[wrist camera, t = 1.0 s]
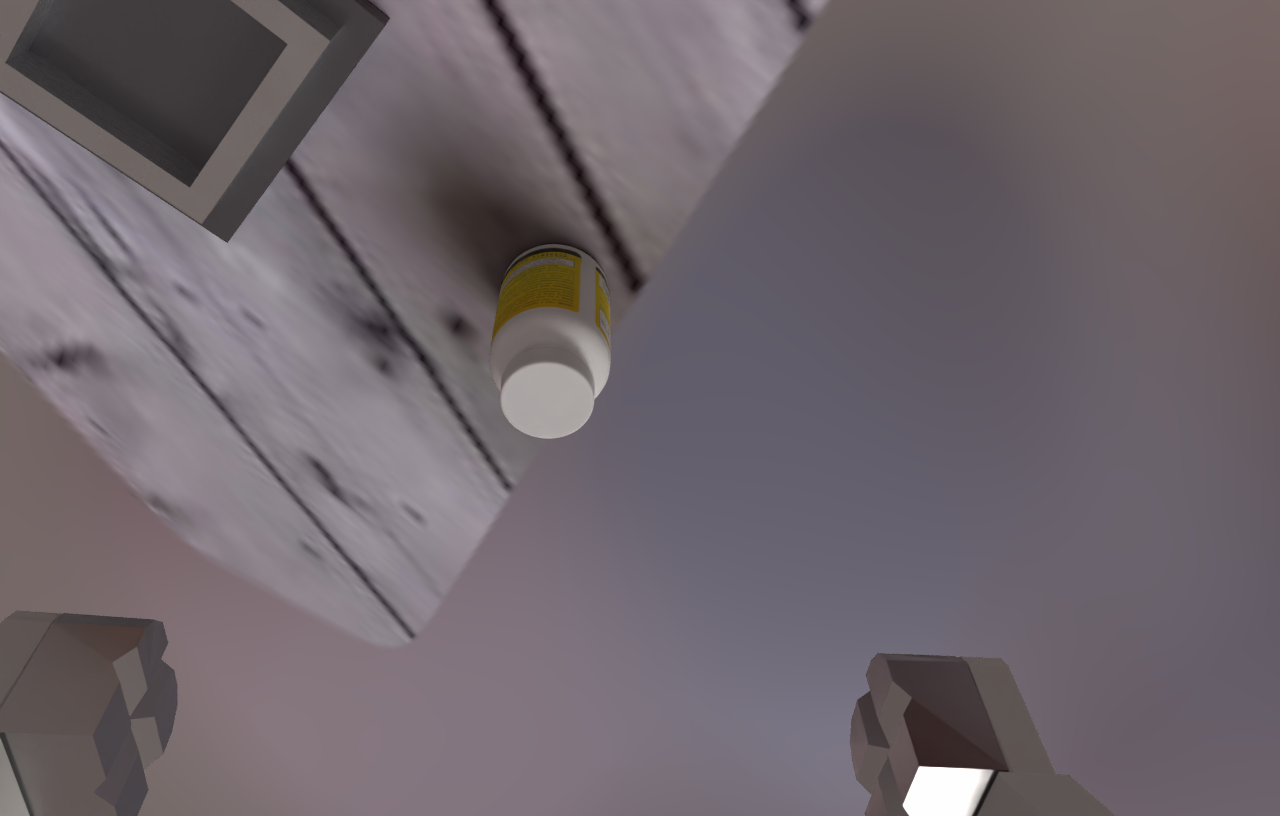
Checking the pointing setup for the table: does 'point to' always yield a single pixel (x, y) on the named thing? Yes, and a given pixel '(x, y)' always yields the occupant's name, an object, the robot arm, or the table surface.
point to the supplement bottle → (551, 340)
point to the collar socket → (185, 86)
